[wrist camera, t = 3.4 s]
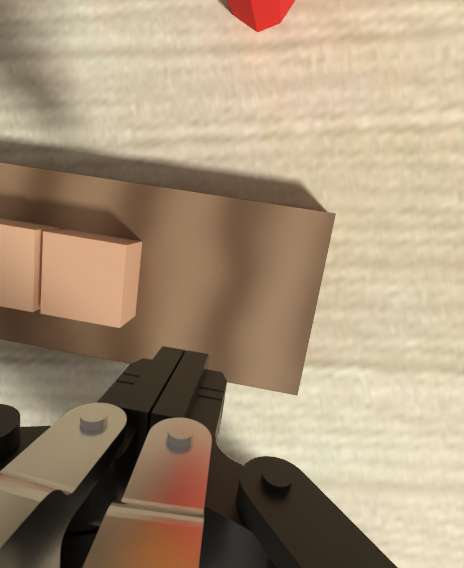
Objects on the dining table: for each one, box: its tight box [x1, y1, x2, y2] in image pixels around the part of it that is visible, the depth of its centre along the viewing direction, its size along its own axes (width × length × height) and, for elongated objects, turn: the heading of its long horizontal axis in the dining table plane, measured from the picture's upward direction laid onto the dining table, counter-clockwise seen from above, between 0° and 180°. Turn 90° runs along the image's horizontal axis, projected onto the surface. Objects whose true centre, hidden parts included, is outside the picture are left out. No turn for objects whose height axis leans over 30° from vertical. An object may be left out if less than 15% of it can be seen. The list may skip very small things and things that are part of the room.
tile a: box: [41, 229, 142, 328], centre depth 22 cm, size 5×5×2 cm
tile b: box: [0, 218, 60, 312], centre depth 22 cm, size 5×5×2 cm
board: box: [0, 163, 336, 395], centre depth 24 cm, size 23×12×2 cm, turn 82°
